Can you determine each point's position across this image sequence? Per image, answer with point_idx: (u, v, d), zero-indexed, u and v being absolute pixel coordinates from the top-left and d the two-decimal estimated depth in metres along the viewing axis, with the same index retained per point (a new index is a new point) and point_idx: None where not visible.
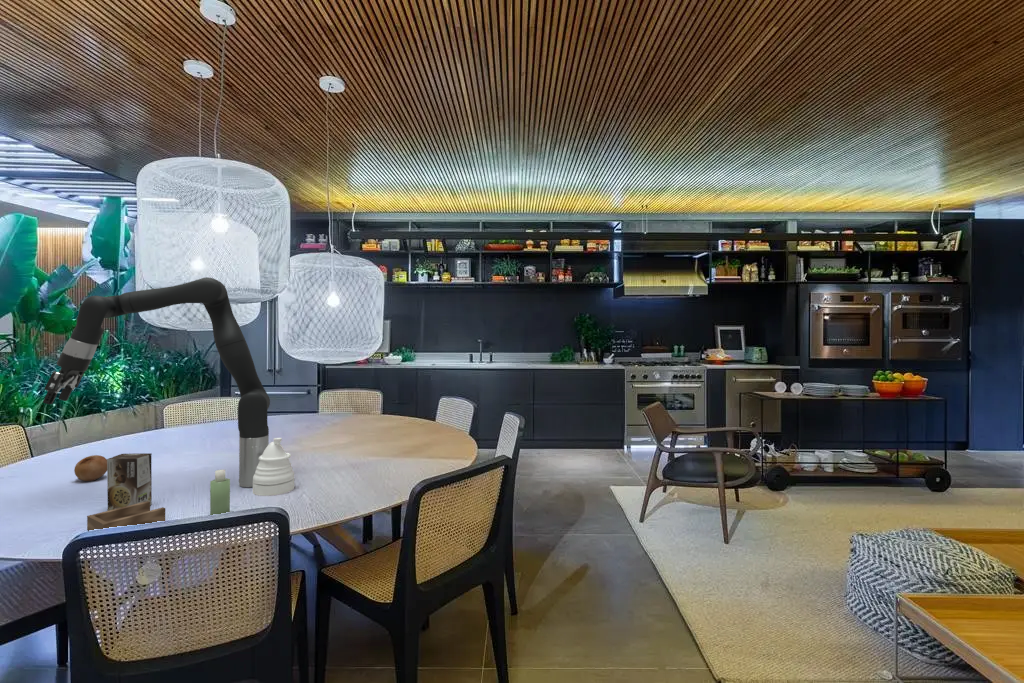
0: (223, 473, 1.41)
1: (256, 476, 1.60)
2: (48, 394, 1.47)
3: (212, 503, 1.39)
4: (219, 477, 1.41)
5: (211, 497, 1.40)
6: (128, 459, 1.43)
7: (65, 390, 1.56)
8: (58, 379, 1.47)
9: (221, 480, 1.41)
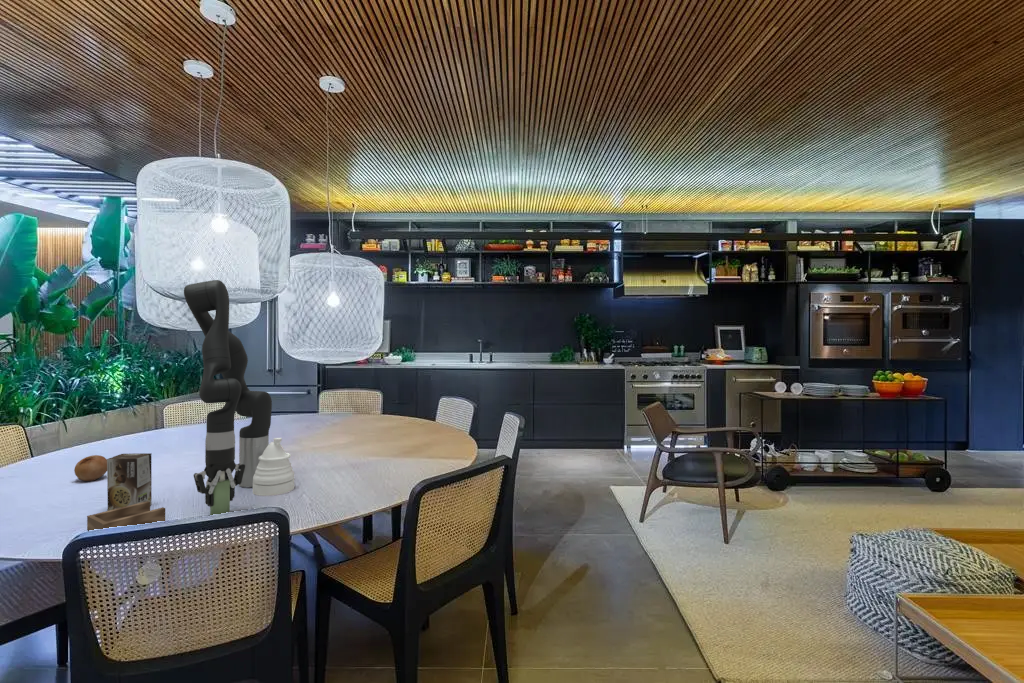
0: (223, 473, 1.41)
1: (256, 476, 1.60)
2: None
3: None
4: None
5: None
6: (128, 459, 1.43)
7: None
8: None
9: (221, 480, 1.41)
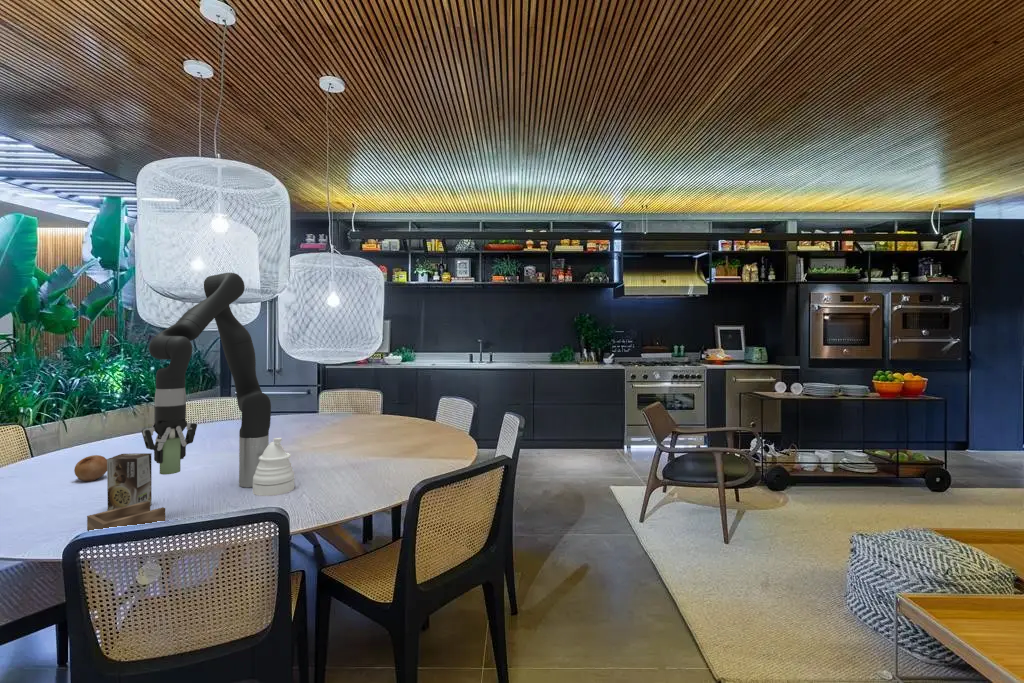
0: (173, 430, 1.41)
1: (256, 476, 1.60)
2: None
3: None
4: (169, 434, 1.40)
5: None
6: (128, 459, 1.43)
7: None
8: None
9: (171, 437, 1.40)
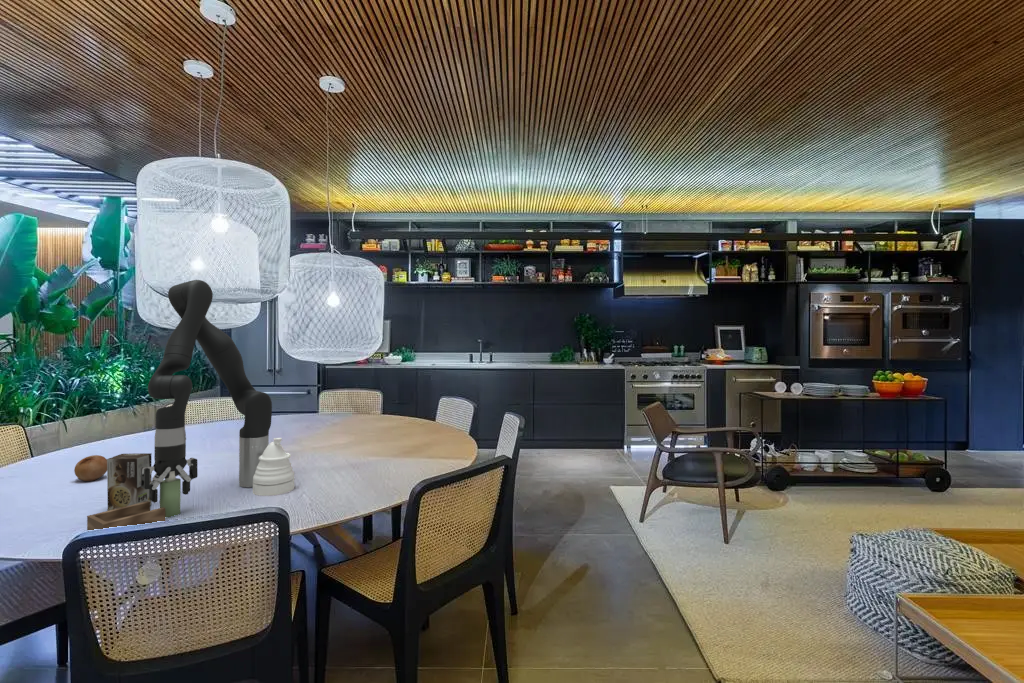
0: (173, 473, 1.41)
1: (256, 476, 1.60)
2: None
3: (161, 503, 1.39)
4: (169, 477, 1.40)
5: (160, 497, 1.39)
6: (128, 459, 1.43)
7: None
8: None
9: (171, 480, 1.40)
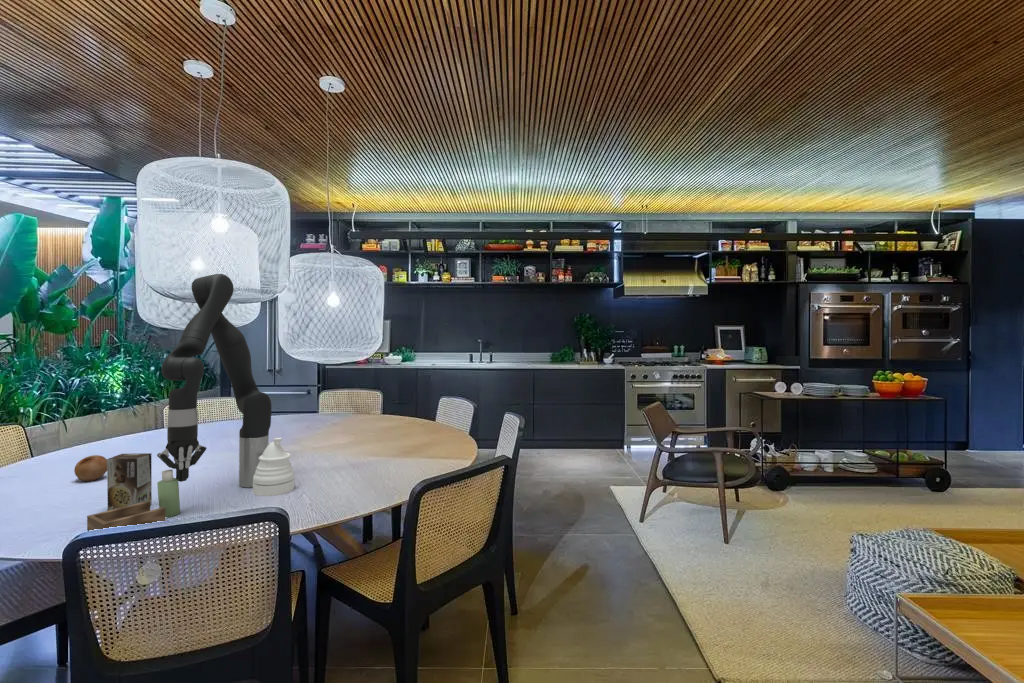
0: (170, 473, 1.40)
1: (256, 476, 1.60)
2: None
3: (160, 503, 1.39)
4: (166, 477, 1.39)
5: (159, 498, 1.39)
6: (128, 459, 1.43)
7: None
8: None
9: (168, 480, 1.40)
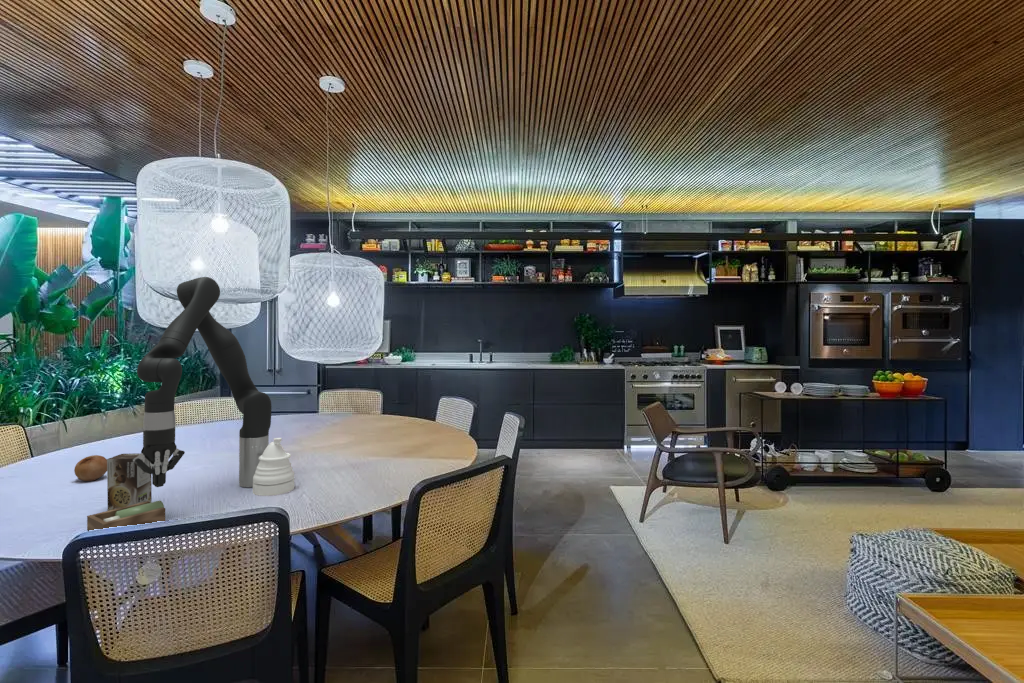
0: None
1: (256, 476, 1.60)
2: None
3: None
4: None
5: None
6: (128, 459, 1.43)
7: None
8: None
9: None
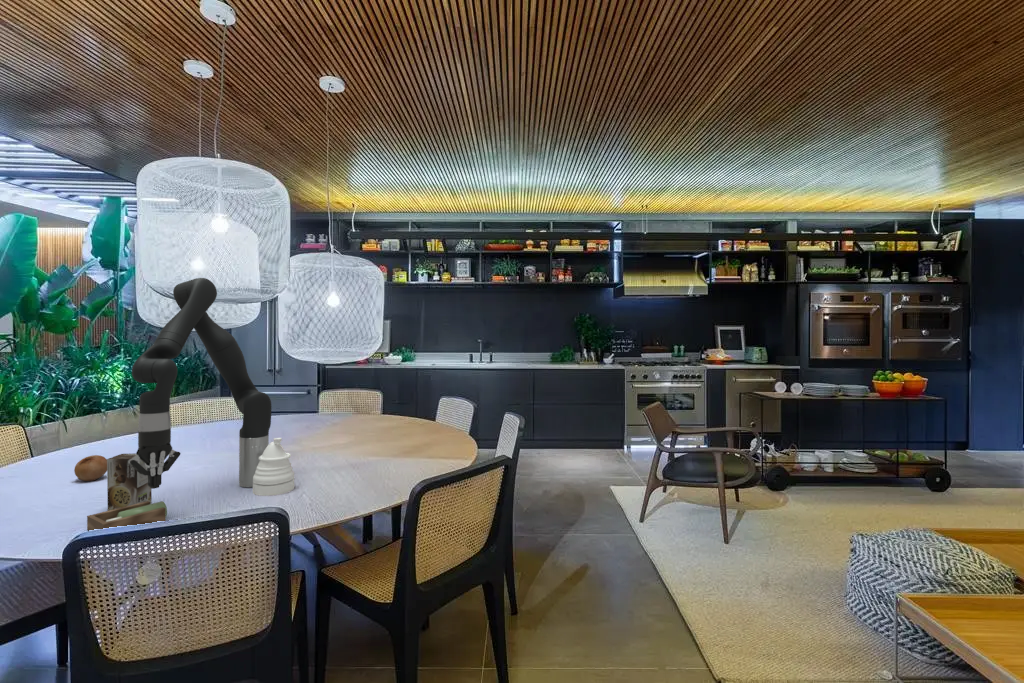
0: None
1: (256, 476, 1.60)
2: None
3: None
4: None
5: None
6: None
7: None
8: None
9: None
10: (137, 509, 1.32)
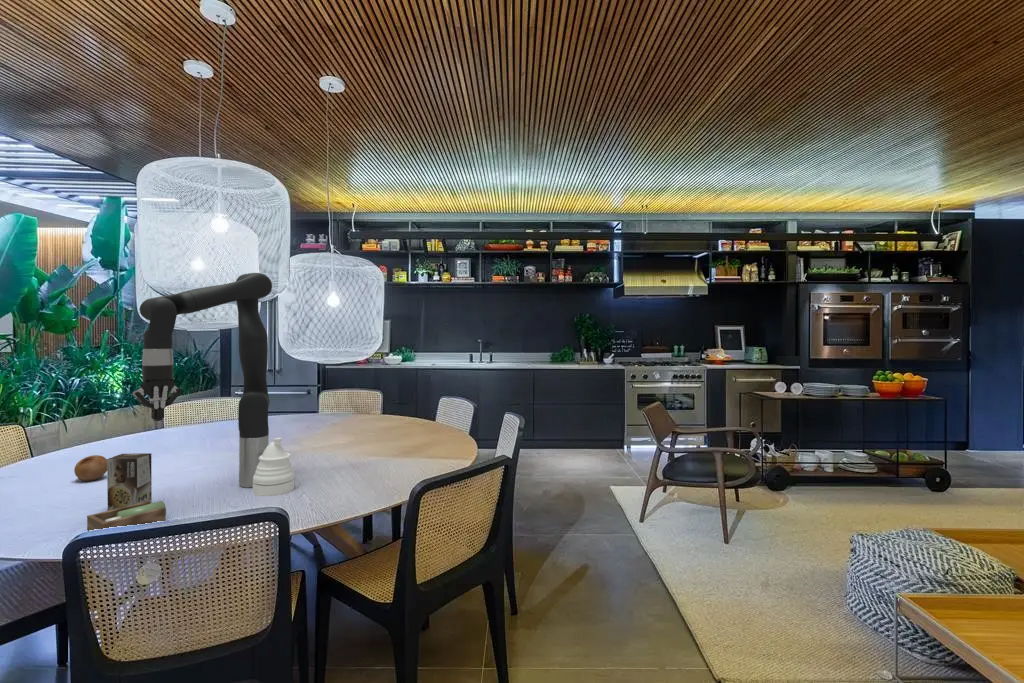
0: None
1: (256, 476, 1.60)
2: None
3: None
4: None
5: None
6: (128, 459, 1.43)
7: None
8: None
9: None
10: (135, 508, 1.33)
